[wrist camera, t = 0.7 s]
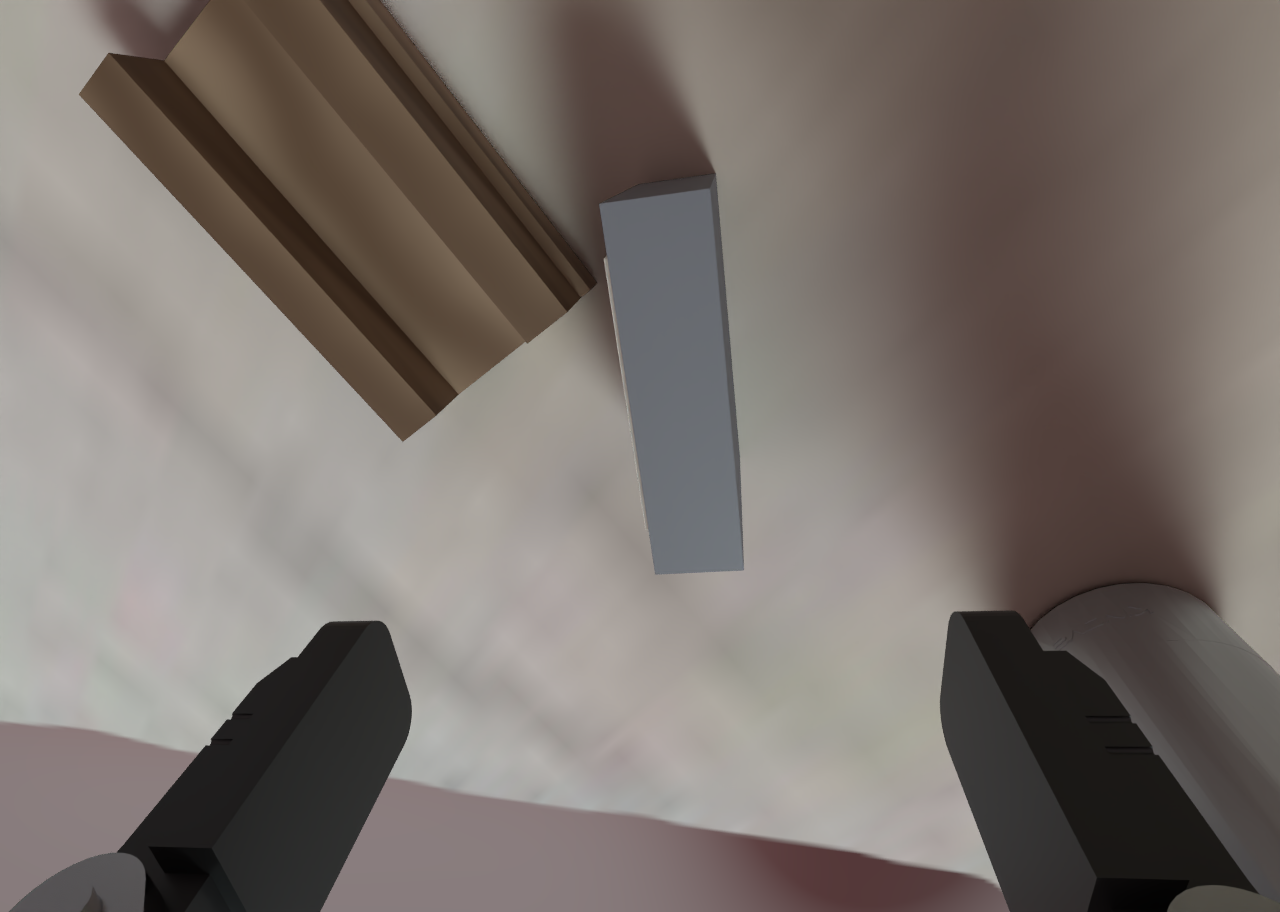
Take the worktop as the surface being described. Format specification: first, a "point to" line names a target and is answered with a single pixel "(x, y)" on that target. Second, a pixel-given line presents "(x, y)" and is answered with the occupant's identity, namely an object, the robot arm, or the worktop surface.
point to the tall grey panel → (677, 369)
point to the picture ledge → (347, 193)
